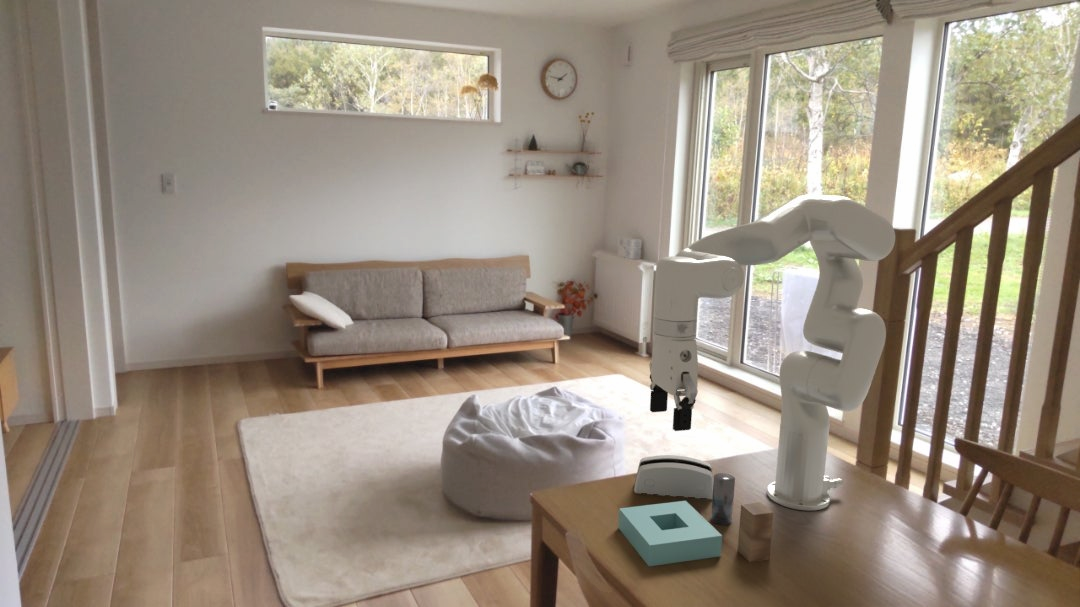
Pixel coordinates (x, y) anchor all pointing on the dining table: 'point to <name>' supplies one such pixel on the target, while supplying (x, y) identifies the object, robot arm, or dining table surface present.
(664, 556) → the bore block
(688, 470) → the slotted arch block
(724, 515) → the round peg
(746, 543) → the square peg
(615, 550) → the dining table surface
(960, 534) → the dining table surface
